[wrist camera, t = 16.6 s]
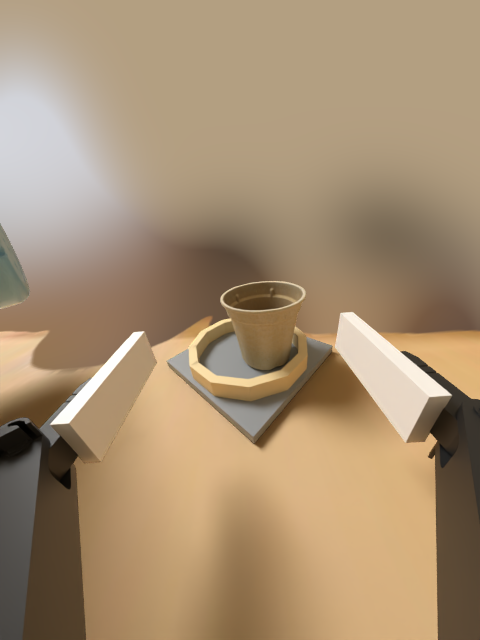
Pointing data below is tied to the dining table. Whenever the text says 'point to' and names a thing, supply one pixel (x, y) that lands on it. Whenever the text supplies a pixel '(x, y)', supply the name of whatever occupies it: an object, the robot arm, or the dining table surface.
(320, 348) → the collar plate
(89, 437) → the robot arm
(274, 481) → the dining table surface
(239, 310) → the flower pot
